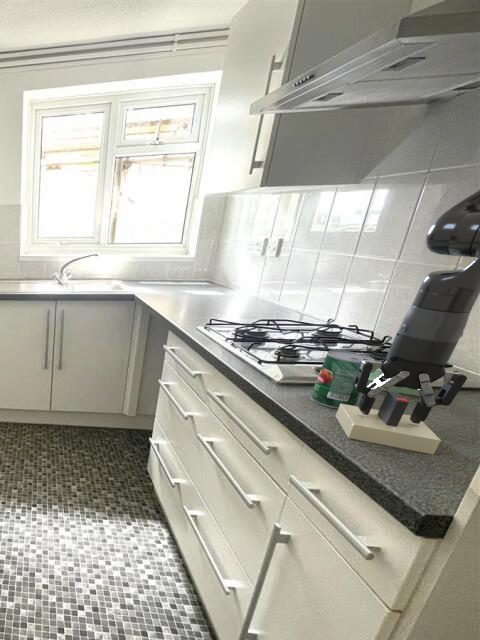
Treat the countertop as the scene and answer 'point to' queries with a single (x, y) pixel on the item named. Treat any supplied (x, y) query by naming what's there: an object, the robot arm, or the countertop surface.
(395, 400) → the oven knob
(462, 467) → the countertop surface
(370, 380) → the button block
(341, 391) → the canned tomato
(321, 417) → the countertop surface
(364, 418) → the panel
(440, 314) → the robot arm
